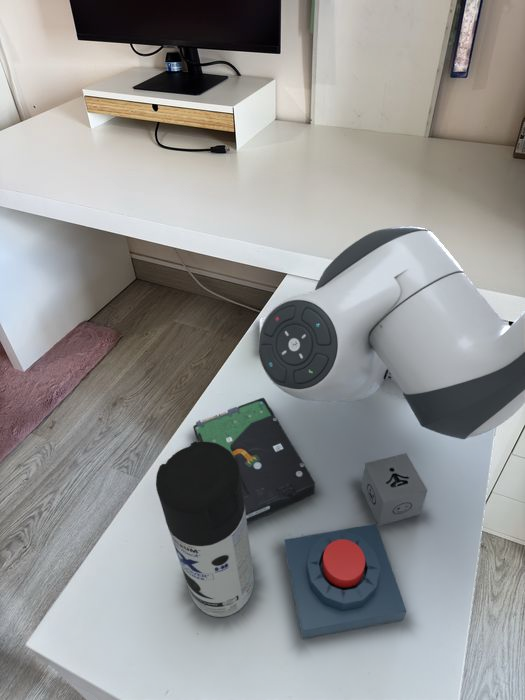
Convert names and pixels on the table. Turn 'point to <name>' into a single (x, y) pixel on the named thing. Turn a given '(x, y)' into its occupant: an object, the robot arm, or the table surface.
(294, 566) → the button box
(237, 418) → the disk drive
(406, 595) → the table surface
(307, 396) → the robot arm
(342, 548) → the button
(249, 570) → the spray can
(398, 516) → the dice cube
